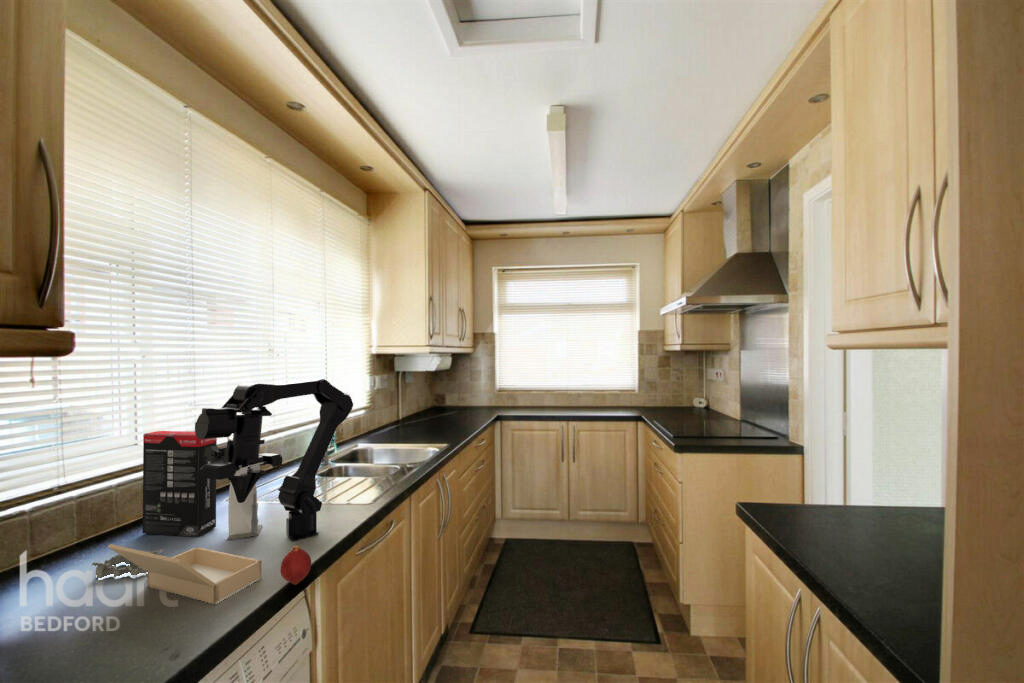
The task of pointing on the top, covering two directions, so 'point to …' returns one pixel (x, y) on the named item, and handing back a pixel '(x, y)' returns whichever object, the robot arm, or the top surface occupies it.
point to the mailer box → (210, 575)
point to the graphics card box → (177, 484)
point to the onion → (295, 565)
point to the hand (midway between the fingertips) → (240, 502)
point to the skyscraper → (243, 514)
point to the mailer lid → (162, 565)
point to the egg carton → (109, 569)
